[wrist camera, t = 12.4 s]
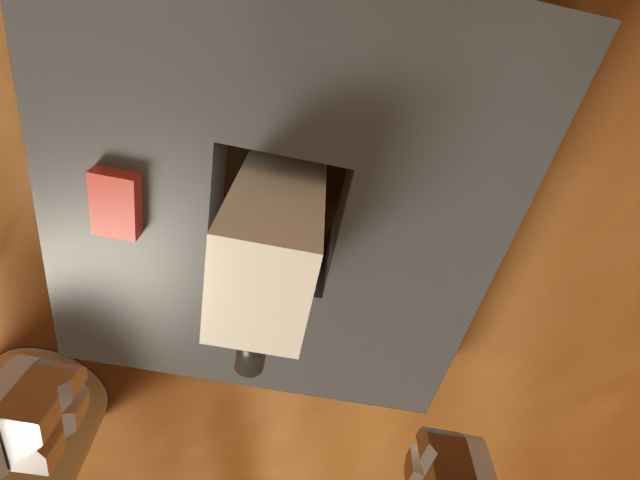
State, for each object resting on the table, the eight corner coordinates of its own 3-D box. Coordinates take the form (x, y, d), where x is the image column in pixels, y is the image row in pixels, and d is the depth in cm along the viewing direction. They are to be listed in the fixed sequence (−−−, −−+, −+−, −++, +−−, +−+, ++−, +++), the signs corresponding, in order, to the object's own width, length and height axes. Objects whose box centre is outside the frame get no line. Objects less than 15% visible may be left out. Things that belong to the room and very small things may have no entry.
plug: (301, 279, 23) (287, 403, 16) (237, 268, 23) (196, 389, 16) (327, 161, 20) (323, 254, 13) (251, 146, 20) (207, 233, 13)
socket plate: (416, 372, 27) (428, 426, 23) (87, 318, 25) (50, 368, 22) (577, 14, 16) (637, 22, 13) (40, -111, 15) (-43, -138, 12)
